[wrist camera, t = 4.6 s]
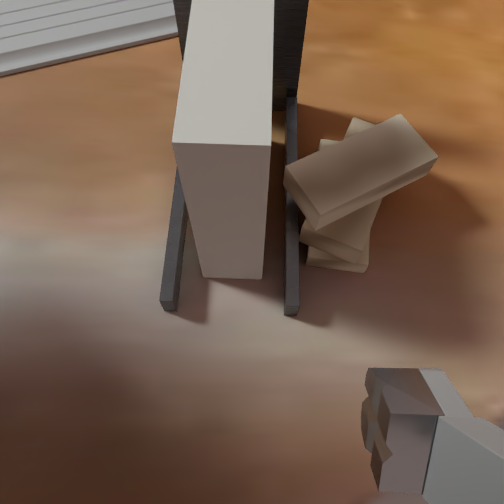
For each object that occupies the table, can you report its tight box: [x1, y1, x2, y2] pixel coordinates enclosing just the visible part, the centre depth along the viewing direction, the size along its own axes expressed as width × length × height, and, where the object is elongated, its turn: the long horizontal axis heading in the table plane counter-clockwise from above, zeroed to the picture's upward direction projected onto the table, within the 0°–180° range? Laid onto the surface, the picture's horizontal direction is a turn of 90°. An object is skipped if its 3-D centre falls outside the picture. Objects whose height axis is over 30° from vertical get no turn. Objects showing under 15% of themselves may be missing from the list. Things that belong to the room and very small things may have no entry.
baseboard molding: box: [0, 0, 179, 76], centre depth 42 cm, size 31×3×12 cm
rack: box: [159, 0, 309, 316], centre depth 27 cm, size 9×18×15 cm, turn 178°
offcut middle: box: [299, 117, 383, 264], centre depth 31 cm, size 4×10×2 cm, turn 155°
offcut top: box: [283, 114, 439, 231], centre depth 30 cm, size 4×9×2 cm, turn 119°
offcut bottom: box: [306, 139, 370, 273], centre depth 33 cm, size 4×10×2 cm, turn 171°
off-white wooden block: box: [172, 0, 274, 279], centre depth 27 cm, size 4×12×14 cm, turn 178°
